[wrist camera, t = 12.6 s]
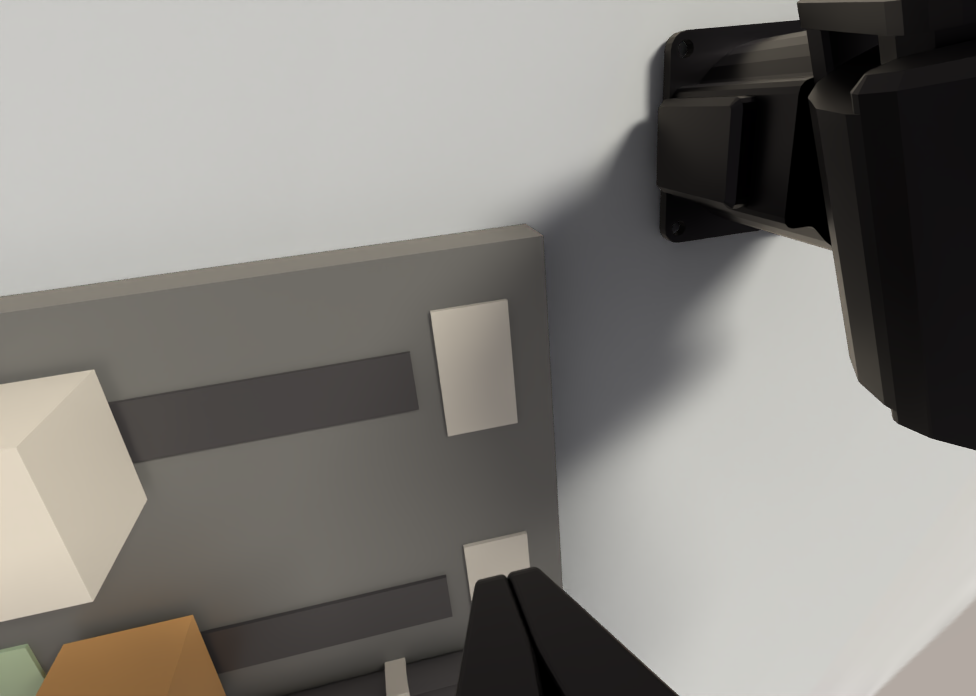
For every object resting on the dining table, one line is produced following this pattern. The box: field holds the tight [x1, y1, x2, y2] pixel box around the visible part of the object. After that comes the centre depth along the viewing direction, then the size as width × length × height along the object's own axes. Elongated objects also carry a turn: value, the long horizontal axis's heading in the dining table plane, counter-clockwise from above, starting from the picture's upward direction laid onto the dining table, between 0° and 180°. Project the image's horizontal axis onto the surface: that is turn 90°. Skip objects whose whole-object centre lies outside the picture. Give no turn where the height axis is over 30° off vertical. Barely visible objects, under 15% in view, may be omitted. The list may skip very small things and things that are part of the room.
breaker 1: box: [0, 369, 147, 622], centre depth 14 cm, size 4×4×4 cm
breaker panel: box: [0, 224, 563, 696], centre depth 20 cm, size 22×18×2 cm
